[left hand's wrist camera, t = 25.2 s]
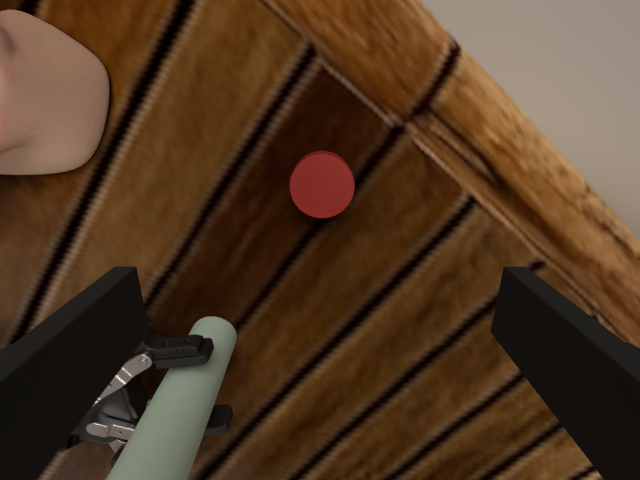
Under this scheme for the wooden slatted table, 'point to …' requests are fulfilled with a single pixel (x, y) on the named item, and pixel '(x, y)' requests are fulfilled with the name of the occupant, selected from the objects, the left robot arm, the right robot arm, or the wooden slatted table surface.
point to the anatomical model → (47, 98)
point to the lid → (322, 184)
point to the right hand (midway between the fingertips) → (220, 385)
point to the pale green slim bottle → (178, 413)
